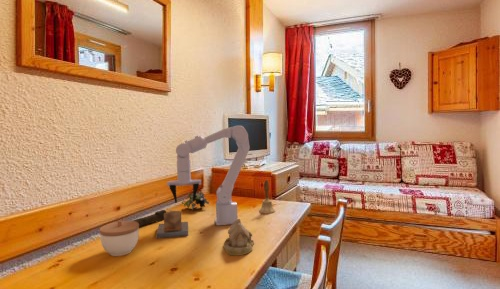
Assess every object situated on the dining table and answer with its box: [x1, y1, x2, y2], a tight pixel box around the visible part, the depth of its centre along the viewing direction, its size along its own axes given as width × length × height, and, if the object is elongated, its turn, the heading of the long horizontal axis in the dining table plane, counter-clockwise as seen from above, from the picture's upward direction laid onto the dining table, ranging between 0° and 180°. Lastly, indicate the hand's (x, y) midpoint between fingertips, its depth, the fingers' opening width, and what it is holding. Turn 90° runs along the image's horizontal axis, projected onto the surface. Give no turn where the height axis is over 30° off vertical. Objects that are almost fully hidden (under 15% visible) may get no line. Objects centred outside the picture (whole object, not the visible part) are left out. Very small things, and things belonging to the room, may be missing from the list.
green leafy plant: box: [181, 191, 210, 212], centre depth 159 cm, size 11×11×12 cm
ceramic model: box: [223, 218, 255, 256], centre depth 107 cm, size 14×11×10 cm
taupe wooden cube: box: [163, 210, 182, 229], centre depth 124 cm, size 5×5×6 cm
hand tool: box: [132, 209, 167, 227], centre depth 136 cm, size 19×4×5 cm, turn 140°
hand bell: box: [258, 179, 276, 215], centre depth 152 cm, size 8×8×16 cm
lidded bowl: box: [99, 219, 140, 257], centre depth 105 cm, size 13×13×11 cm
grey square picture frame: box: [155, 221, 189, 240], centre depth 124 cm, size 12×12×2 cm
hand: (185, 201), depth 133 cm, fingers open, 7 cm apart
